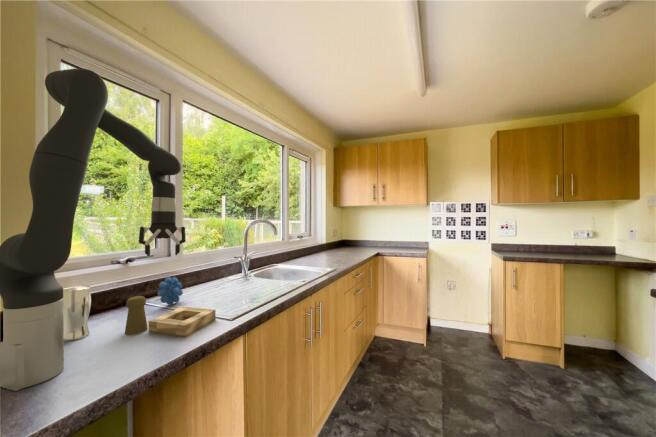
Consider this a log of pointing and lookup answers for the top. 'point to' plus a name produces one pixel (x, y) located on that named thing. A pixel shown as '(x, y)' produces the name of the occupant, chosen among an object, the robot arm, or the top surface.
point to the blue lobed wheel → (170, 290)
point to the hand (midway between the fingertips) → (162, 255)
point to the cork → (136, 315)
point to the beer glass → (76, 312)
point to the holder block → (182, 321)
